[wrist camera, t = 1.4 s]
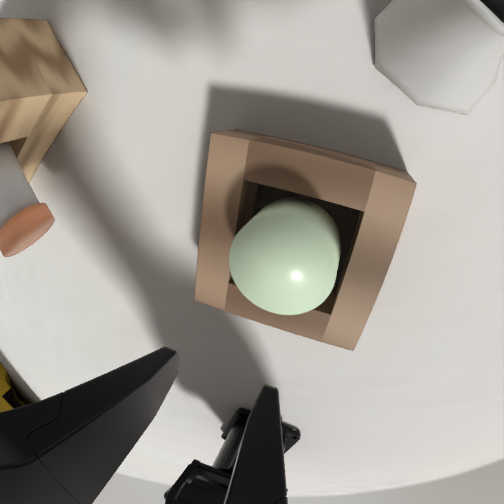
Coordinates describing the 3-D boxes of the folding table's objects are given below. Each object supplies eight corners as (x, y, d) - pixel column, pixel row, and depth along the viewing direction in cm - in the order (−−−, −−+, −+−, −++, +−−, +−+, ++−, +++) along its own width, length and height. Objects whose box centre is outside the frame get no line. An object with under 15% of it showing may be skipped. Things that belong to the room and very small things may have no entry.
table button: (327, 295, 18) (319, 327, 15) (243, 270, 19) (223, 296, 16) (352, 212, 16) (350, 233, 13) (257, 187, 17) (236, 202, 14)
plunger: (63, 208, 20) (11, 233, 16) (42, 239, 22) (-3, 265, 18) (19, 124, 18) (-32, 137, 14) (2, 162, 21) (-42, 178, 17)
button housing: (356, 321, 20) (353, 351, 18) (214, 277, 22) (194, 300, 20) (407, 172, 16) (416, 183, 13) (233, 129, 18) (210, 133, 15)
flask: (472, 137, 14) (575, 170, 5) (353, 76, 15) (344, 27, 6) (506, 32, 10) (604, -12, 1) (390, -28, 11) (403, -136, 2)
